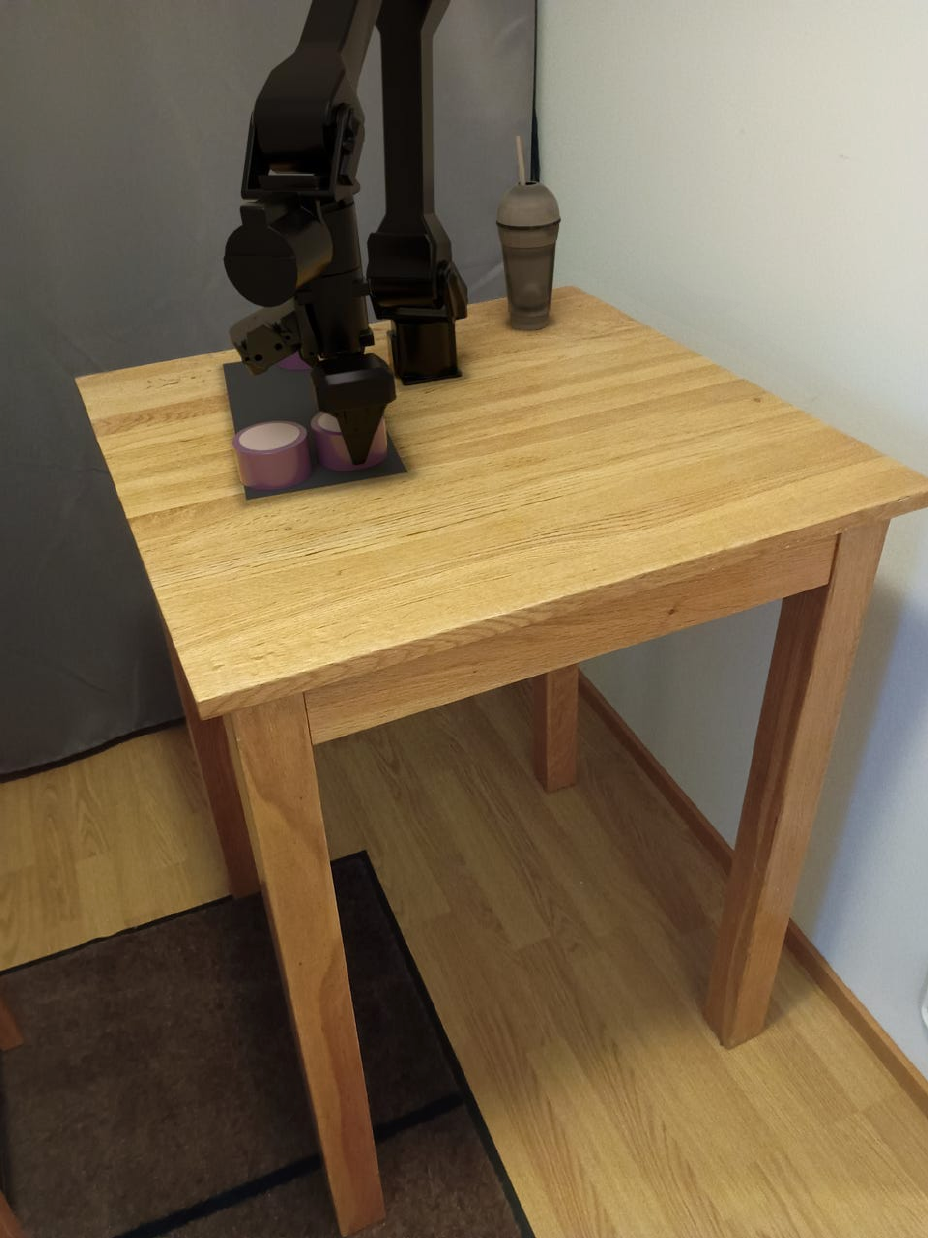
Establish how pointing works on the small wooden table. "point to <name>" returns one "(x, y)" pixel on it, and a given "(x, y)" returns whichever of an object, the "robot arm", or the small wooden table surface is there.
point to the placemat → (290, 420)
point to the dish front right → (272, 455)
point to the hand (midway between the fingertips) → (351, 444)
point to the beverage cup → (528, 249)
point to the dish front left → (343, 445)
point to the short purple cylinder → (293, 363)
